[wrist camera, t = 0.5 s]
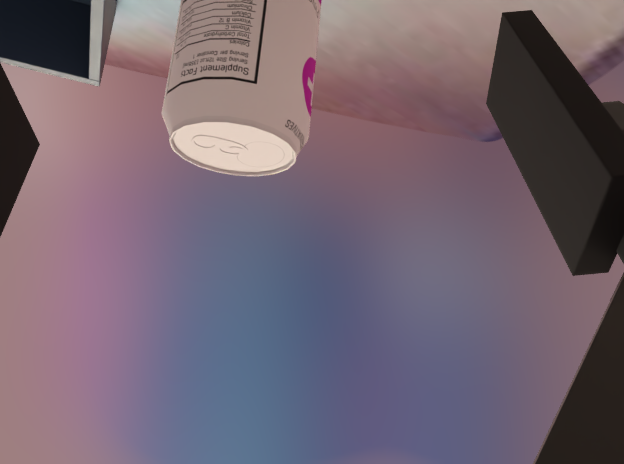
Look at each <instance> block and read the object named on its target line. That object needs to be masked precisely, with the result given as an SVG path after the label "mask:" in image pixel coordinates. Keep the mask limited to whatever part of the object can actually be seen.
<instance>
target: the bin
mask: <svg viewBox="0 0 624 464" xmlns="http://www.w3.org/2000/svg"><path fill="white" fill-rule="evenodd" d="M115 10H116V0H0V62H2V63H6V64H10V65H14V66H18V67H22V68H26V69H30V70H34V71H38V72H42V73H46V74H50V75H55V76H58V77H62V78H67V79H71V80H75V81H79V82H83V83H87V84H91V85H95V86H100V82H101V77H102V73H103V68H104V63H105V59H106V54H107V49H108V45H109V40H110V35H111V30H112V26H113V21H114V16H115Z"/></svg>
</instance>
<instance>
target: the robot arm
mask: <svg viewBox="0 0 624 464" xmlns="http://www.w3.org/2000/svg"><path fill="white" fill-rule="evenodd" d="M486 104H487V106H488V108H489V110H490V112H491V114H492V116H493V118H494V120H495V122H496V124H497V126H498V128H499V130H500V132H501V134H502V136H503V138H504V140H505V142H506V144H507V146H508V148H509V150H510V152H511V154H512V156H513V158H514V160H515V161H516V164H517V166H518V168H519V169H520V172H521V173H522V176H523V178H524V179H525V182H526V183H527V186H528V187H529V189H530V192H531V194H532V196H533V197H534V200H535V201H536V204H537V206H538V207H539V209H540V212H541V214H542V215H543V217H544V219H545V221H546V223H547V225H548V227H549V229H550V231H551V233H552V235H553V237H554V239H555V241H556V243H557V245H558V247H559V249H560V251H561V253H562V255H563V257H564V259H565V261H566V263H567V265H568V267H569V269H570V271H571V273H572V275H573V276H575V275H585V274H596V273H607V272H609V270H610V268H611V265H612V263H613V261H614V259H615V257H616V255H617V253H618V255H619V256H620V258H621V260H622V262H623V263H624V104H623V103H622V102H620V101H614V102H604V103H601V102H600V100H599V99H598V98H597V96H596V95H595V94H594V92H593V91H592V90H591V88H590V87H589V86H588V84H587V83H586V82H585V80H584V79H583V78H582V76H581V75H580V74H579V72H578V71H577V70H576V68H575V67H574V66H573V64H572V63H571V62H570V60H569V59H568V58H567V56H566V55H565V54H564V52H563V51H562V50H561V49H560V47H559V46H558V45H557V43H556V42H555V41H554V39H553V38H552V37H551V35H550V34H549V33H548V31H547V30H546V29H545V27H544V26H543V25H542V23H541V22H540V21H539V19H538V18H537V17H536V15H535V14H534V13H533V11H532V10H528V11H516V12H505V13H502V17H501V23H500V29H499V34H498V40H497V46H496V51H495V57H494V63H493V68H492V74H491V79H490V85H489V91H488V96H487V102H486ZM39 145H40V144H39V142H38V140H37V138H36V136H35V134H34V132H33V130H32V127H31V125H30V123H29V121H28V119H27V117H26V115H25V113H24V111H23V109H22V107H21V105H20V103H19V101H18V99H17V96H16V95H15V92H14V90H13V88H12V86H11V84H10V82H9V80H8V78H7V76H6V74H5V72H4V70H3V68H2V66H1V64H0V236H1V234H2V232H3V229H4V227H5V225H6V222H7V220H8V217H9V215H10V213H11V211H12V208H13V206H14V203H15V201H16V199H17V196H18V194H19V191H20V189H21V187H22V185H23V182H24V180H25V177H26V175H27V173H28V171H29V168H30V166H31V164H32V161H33V159H34V156H35V154H36V152H37V149H38V147H39ZM533 464H624V273H623V276H622V277H621V279H620V282H619V284H618V286H617V288H616V290H615V292H614V294H613V296H612V298H611V301H610V303H609V305H608V307H607V309H606V311H605V313H604V315H603V317H602V320H601V322H600V324H599V326H598V328H597V330H596V332H595V334H594V336H593V339H592V341H591V343H590V345H589V347H588V349H587V351H586V353H585V355H584V358H583V359H582V362H581V364H580V366H579V368H578V370H577V372H576V374H575V376H574V378H573V381H572V383H571V385H570V387H569V389H568V391H567V393H566V395H565V397H564V400H563V402H562V404H561V406H560V408H559V410H558V412H557V414H556V416H555V418H554V421H553V423H552V425H551V427H550V429H549V431H548V434H547V435H546V438H545V440H544V442H543V444H542V446H541V448H540V450H539V452H538V454H537V456H536V459H535V461H534V463H533Z"/></svg>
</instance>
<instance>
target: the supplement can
mask: <svg viewBox="0 0 624 464" xmlns="http://www.w3.org/2000/svg"><path fill="white" fill-rule="evenodd" d="M320 10H321V0H181V5H180V11H179V16H178V22H177V28H176V34H175V39H174V45H173V51H172V57H171V62H170V68H169V74H168V80H167V85H166V91H165V97H164V103H163V108H162V116H163V119H164V121H165V124H166V127H167V129H168V132H169V135H170V138H169V142H170V144H171V147H172V149H173V151H174V152H175V153H177V154H178V155H179V156H180V157H181V158H183V159H184V160H186V161H188V162H190V163H192V164H194V165H196V166H199V167H201V168H204V169H208V170H211V171H215V172H218V173H224V174H231V175H237V176H263V175H272V174H276V173H279V172H282V171H284V170H287V169H289V168H290V167H291V166H292V165H293V164H294V163H295V162H296V156H297V155H298V154H299V152H300V151H301V149H302V148H303V147H304V145H305V144H306V142H307V141H308V139H309V130H310V119H311V108H312V97H313V86H314V75H315V64H316V53H317V42H318V32H319V21H320Z"/></svg>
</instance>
